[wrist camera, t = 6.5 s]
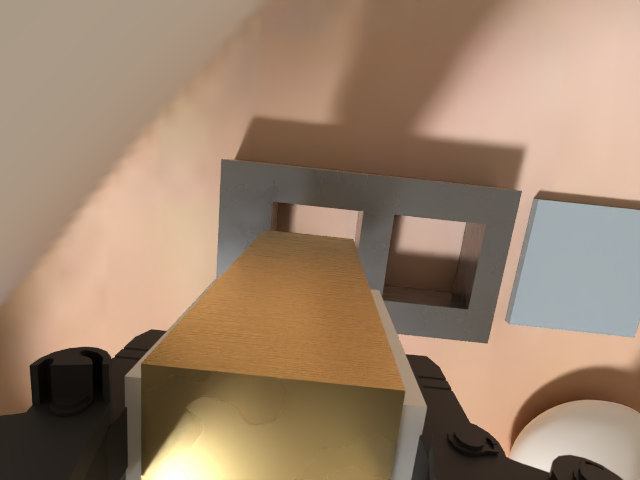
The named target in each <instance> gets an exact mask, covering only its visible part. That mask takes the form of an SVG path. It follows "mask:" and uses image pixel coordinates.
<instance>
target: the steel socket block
mask: <svg viewBox="0 0 640 480" xmlns="http://www.w3.org/2000/svg"><path fill="white" fill-rule="evenodd" d="M521 193H522V191H518V190H512V189H506V188H500V187H491V186H482V185H472V184H463V183H454V182H444V181H435V180H425V179H416V178H406V177H397V176H387V175H378V174H369V173H359V172H350V171H340V170H331V169H321V168H312V167H302V166H293V165H284V164H274V163H265V162H255V161H246V160H236V159H222V160H221V184H220V208H219V232H218V255H217V277H218V276H219V275H220V274H224V272H225V271H226V270H227V269H228V268H229V267H230V266H231V265H232V264H233V263H234V262H235V260H236V259H237V258H238V257H239V256H240V255H241V254H242V253H243V252H244V251H245V250H246V248H247V247H248V246H249V245H250V244H251V243H252V242H253V241H254V240H255V239H256V238H257V236H258V235H259V234H260V233H261V232H262V231H263V230H270V231H276V227H277V214H278V202H281V203H290V204H300V205H309V206H318V207H328V208H337V209H347V210H356V211H359V213H358V221H357V228H356V236H355V247H356V249H357V252H358V255H359V258H360V261H361V264H362V267H363V270H364V272H365V275H366V278H367V281H368V284H369V287H370V289H372V290H379V291H380V294H381V296H382V299H383V301H384V304H385V306H386V308H387V311H388V313H389V316H390V318H391V321H392V323H393V325H394V328H395V330H396V333H397V334H404V335H413V336H423V337H432V338H441V339H451V340H460V341H469V342H479V343H488V339H489V335H490V330H491V326H492V321H493V317H494V312H495V308H496V304H497V299H498V295H499V290H500V286H501V281H502V277H503V273H504V268H505V264H506V259H507V255H508V250H509V246H510V241H511V237H512V233H513V228H514V224H515V219H516V215H517V210H518V206H519V201H520V197H521ZM394 215H403V216H413V217H422V218H431V219H441V220H450V221H460V222H466V227H465V232H464V237H463V242H462V248H461V253H460V258H459V263H458V268H457V273H456V278H455V283H454V289H453V293H450V292H441V291H431V290H422V289H413V288H403V287H394V286H384V281H385V274H386V268H387V261H388V254H389V248H390V241H391V234H392V228H393V221H394Z"/></svg>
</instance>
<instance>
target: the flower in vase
mask: <svg viewBox="0 0 640 480" xmlns="http://www.w3.org/2000/svg"><path fill="white" fill-rule="evenodd" d="M562 455H573V456H578V457H583V458H586V459H589V460H592V461H593V462H596V463H598V464H601V465H603V466H604V467H605V468H607V469H609V470H610V471H612V472H613V473H615V474H617V475H618V476H619V477H621V478H622V479H623V480H640V413H639V412H637V411H636V410H634V409H632V408H630V407H627V406H625V405H622V404H618V403H614V402H609V401H601V400H577V401H572V402H567V403H563V404H560V405H557V406H555V407H553V408H551V409H548V410H547V411H545V412H543V413H541V414H540V415H538V416H537V417H536V418H534V419H533V420H532V421H531V422H530V423H529V424H528V425H526V426H525V428H524V429H523V430H522V431H521V433H520V434H519V435H518V437H517V439H516V440H515V442H514V444H513V447H512V449H511V453H510V456H509V458H510V459H512V460H515V461H517V462H520V463H523V464H526V465H529V466H532V467H535V468H538V469H541V470H544V471H547V472H550V469H551V465H552V462H553V460H554V459H556V458H557V457H558V456H562Z"/></svg>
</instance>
